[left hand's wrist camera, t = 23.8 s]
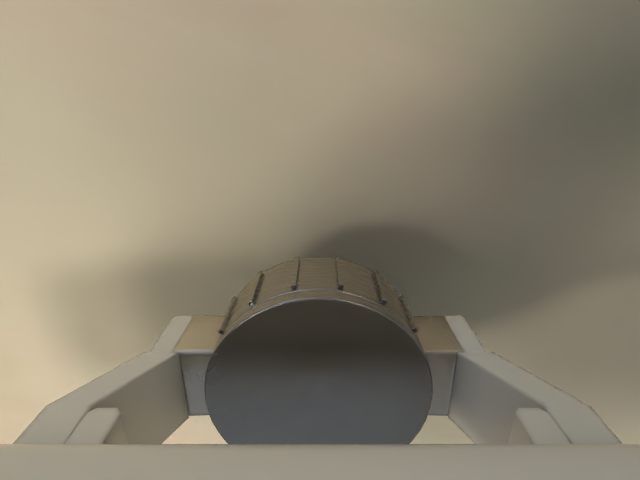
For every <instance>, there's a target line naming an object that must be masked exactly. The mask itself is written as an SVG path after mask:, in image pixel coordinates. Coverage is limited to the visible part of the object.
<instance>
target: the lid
mask: <svg viewBox="0 0 640 480" xmlns="http://www.w3.org/2000/svg"><path fill="white" fill-rule="evenodd" d="M417 331H418V330H417V327H416V325H415V322H414V320H413V318H412V315H411V313H410V310H409V308H408V305H407V303H406V300H405V298H404V296H403V295H401V296H399V295H398V293H397V292H396V291H395V290H394V288H393V287H392V286H391V285H390V284H389V283H388V282H387V281H385V280H384V279H383V278H382V277H380V276H379V274H378V272H377V271H375V270H374V271H371V270H369V269H367V268H365V267H363V266H361V265H358V264H356V263H352V262H349V261H346V260H341V257H336V258H327V257H311V258H302V259H299V257H296V258H295V260H291V261H288V262H285V263H282V264H279V265H277V266H275V267H273V268H270V269H268V270H266V271H265V272H263V273H262V271H261V272H259V273H258V274H257V277H256V278H255V279H254V280H252V281H251V282H250V283H249V284H248V285H247V286H246V287H245V288H244V289H243V290H242V291H241V293H240V294H239V295H238V297H237V298H236V297H233V299H232V301H231V303H230V306H229V308H228V310H227V313H226V315H225V318H224V320H223V322H222V325H221V327H220V329H219V332H218V333H220V336H219V339H218V341H217V343H216V346H215V348H214V351H213V353H212V356H211V358H210V360H209V363H208V367H207V370H206V374H205V384H204V390H205V400H206V405H207V409H208V412H209V415H210V417H211V420H212V422H213V424H214V425H215V427H216V429H217V431H218V432H219V433H220V435H221V436H222V437H223V438H224V440H225V441H226V442H227V443H228V444H409V443H410V442H411V441H412V440H413V439H414V438H415V437H416V435H417V434H418V433H419V431H420V430H421V428H422V426H423V424H424V422H425V421H426V418H427V416H428V413H429V410H430V406H431V401H432V396H433V381H432V374H431V370H430V366H429V363H428V360H427V358H426V355H425V353H424V350H423V348H422V345H421V342H420V340H419V337H418V335H417Z"/></svg>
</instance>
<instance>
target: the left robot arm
mask: <svg viewBox="0 0 640 480" xmlns="http://www.w3.org/2000/svg"><path fill="white" fill-rule="evenodd" d="M224 318H225V316H194V315H185V316H174V317H173V318H172V319H171V321H170V322H169V324H168V325H167V327H166V329H165V330H164V332H163V333H162V335H161V336H160V338H159V339H158V341H157V342H156V344H155V345H154V347H153V348H152V350H151V351H150V352H144V353H142V354H140V355H138V356H136V357H135V358H133V359H131V360H129V361H127V362H125V363H124V364H122V365H120V366H118V367H116V368H115V369H113V370H111V371H109V372H107V373H105V374H104V375H102V376H100V377H98V378H96V379H94V380H93V381H91V382H89V383H87V384H85V385H83V386H82V387H80V388H78V389H76V390H74V391H73V392H71V393H69V394H67V395H65V396H63V397H62V398H60V399H58V400H56V401H54V402H52V403H51V404H49V405H47V406H46V407H45V408H44V409H43V410H42V411H41V412H40V413H39V415H38V416H37V417H36V418H35V419H34V420H33V421H32V423H31V424H30V425H29V426H28V427H27V428H26V429H25V431H24V432H23V433H22V434H21V435H20V436H19V437H18V439H17V440H16V441H15V442H14V443H13V444H0V480H640V444H622V442H621V441H620V440H619V439H618V438H617V437H616V435H615V434H614V433H613V432H612V431H611V430H610V428H609V427H608V426H607V425H606V424H605V423H604V421H603V420H602V419H601V418H600V417H599V416H598V414H597V413H596V412H595V411H594V410H593V409H592V407H591V406H589V405H587V404H585V403H583V402H582V401H580V400H578V399H576V398H574V397H573V396H571V395H569V394H567V393H565V392H563V391H562V390H560V389H558V388H556V387H554V386H553V385H551V384H549V383H547V382H545V381H544V380H542V379H540V378H538V377H536V376H535V375H533V374H531V373H529V372H527V371H526V370H524V369H522V368H520V367H518V366H517V365H515V364H513V363H511V362H509V361H508V360H506V359H504V358H502V357H500V356H498V355H497V354H495V353H493V352H486V350H485V349H484V347H483V346H482V344H481V342H480V341H479V339H478V338H477V336H476V335H475V333H474V332H473V330H472V329H471V327H470V326H469V324H468V323H467V321H466V319H465V318H464V317H463V316H461V315H453V316H421V317H412V318H413V320H414V322H415V325H416V327H417V330H418V331H417V335H418V337H419V340H420V342H421V345H422V348H423V350H424V353H425V355H426V358H427V360H428V363H429V366H430V370H431V374H432V381H433V396H432V401H431V406H430V410H429V413H428V415H443V416H448V418H450V419H451V420H452V421H453V422H454V423H455V424H456V425H457V426H458V427H459V428H460V429H461V430H462V431H463V432H464V433H465V434H466V435H467V436H468V437H469V438H470V439H471V440H472V441H473V442H474V443H475V444H162V443H163V442H164V441H165V440H166V439H167V438H168V437H169V436H170V435H171V434H172V433H173V432H174V431H175V430H176V429H177V428H178V427H179V426H180V425H181V424H183V423H184V422H185V421H186V420H187V419H188V418H189V416H194V415H209V412H208V409H207V405H206V400H205V390H204V384H205V374H206V370H207V367H208V363H209V360H210V358H211V356H212V353H213V351H214V348H215V346H216V343H217V341H218V339H219V336H220V333H218V332H219V329H220V327H221V325H222V322H223V320H224Z"/></svg>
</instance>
